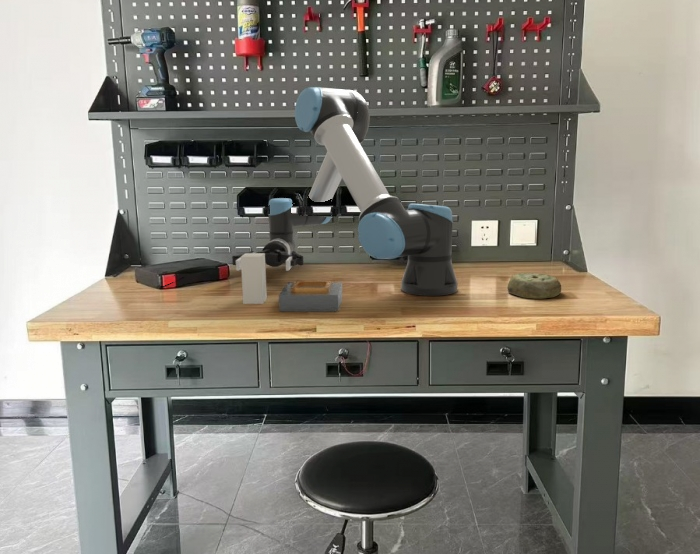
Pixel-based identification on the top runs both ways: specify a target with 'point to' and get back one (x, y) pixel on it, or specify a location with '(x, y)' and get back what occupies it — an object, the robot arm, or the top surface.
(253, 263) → the column
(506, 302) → the top surface
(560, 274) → the top surface
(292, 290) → the jig plate
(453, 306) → the top surface
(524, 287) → the weight
